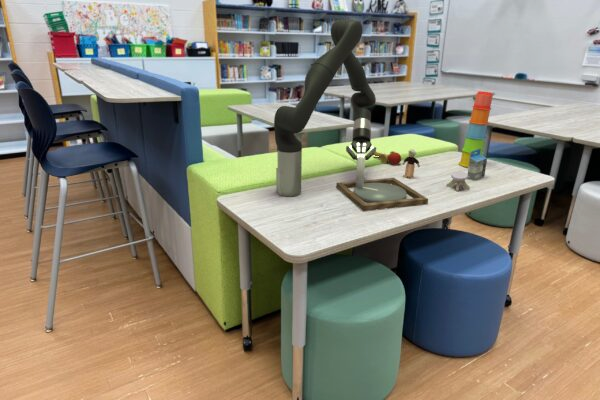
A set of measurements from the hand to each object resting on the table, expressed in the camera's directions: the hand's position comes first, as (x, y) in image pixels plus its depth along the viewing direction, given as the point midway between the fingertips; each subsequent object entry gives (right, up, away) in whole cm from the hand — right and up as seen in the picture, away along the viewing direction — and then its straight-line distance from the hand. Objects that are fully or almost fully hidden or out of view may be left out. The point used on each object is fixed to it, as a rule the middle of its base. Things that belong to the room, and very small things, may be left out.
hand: (360, 168), depth 173 cm
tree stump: (+40, -8, +2) cm, 41 cm away
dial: (+6, -11, -7) cm, 15 cm away
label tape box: (+53, -3, +15) cm, 55 cm away
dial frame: (+6, -11, -7) cm, 15 cm away
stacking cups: (+57, +3, +33) cm, 66 cm away
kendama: (+18, +6, +38) cm, 43 cm away
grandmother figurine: (+24, -3, +14) cm, 28 cm away
